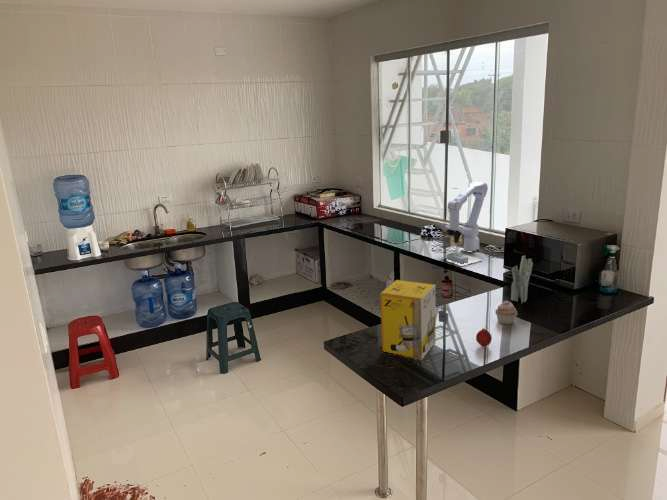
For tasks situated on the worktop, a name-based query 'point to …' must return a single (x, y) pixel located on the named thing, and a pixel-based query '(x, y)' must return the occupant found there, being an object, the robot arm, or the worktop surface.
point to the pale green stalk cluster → (521, 280)
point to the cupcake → (506, 313)
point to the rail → (453, 240)
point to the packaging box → (408, 318)
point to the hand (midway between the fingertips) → (454, 241)
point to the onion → (483, 337)
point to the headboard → (460, 258)
